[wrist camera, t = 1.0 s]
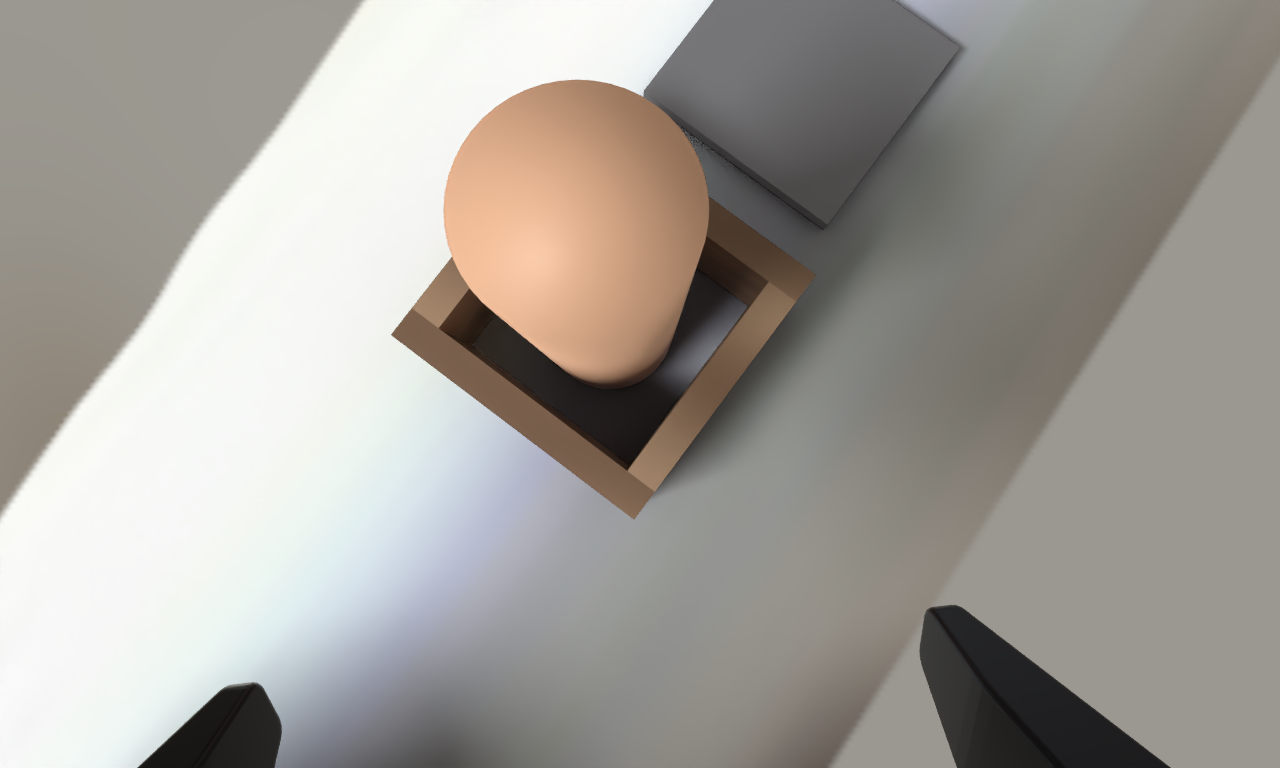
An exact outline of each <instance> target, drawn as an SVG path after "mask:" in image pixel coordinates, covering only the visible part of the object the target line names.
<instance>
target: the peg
mask: <svg viewBox="0 0 1280 768" xmlns="http://www.w3.org/2000/svg"><path fill="white" fill-rule="evenodd" d="M708 221H709V198H708V189H707V184H706V180H705V175H704V172H703V169H702V166H701V163H700V161H699V158H698V156H697V154H696V152H695V150H694V148H693V146H692V145H691V143H690V141H689V140H688V138H687V137H686V135H685V134H684V133H683V131H682V130H681V128H680V127H679V126H678V125H677V124H676V123H675V122H674V121H673V120H672V119H671V118H670V117H669V116H668V115H667V114H666V113H665V112H664V111H662V110H661V109H660V108H659V107H658V106H656V105H655V104H653V103H652V102H650V101H649V100H647V99H645V98H644V97H642V96H640V95H638V94H636V93H634V92H632V91H630V90H627V89H625V88H622V87H618V86H615V85H612V84H608V83H603V82H597V81H589V80H566V81H557V82H552V83H547V84H542V85H539V86H536V87H533V88H530V89H527V90H525V91H523V92H521V93H518V94H516V95H514V96H512V97H510V98H509V99H507V100H506V101H504V102H503V103H501V104H500V105H498V106H497V107H495V108H494V109H493V110H492V111H491V112H489V113H488V114H487V115H486V116H485V117H484V118H483V119H482V120H481V121H480V122H479V123H478V124H477V125H476V126H475V127H474V129H473V130H472V131H471V132H470V134H469V135H468V137H467V138H466V140H465V141H464V142H463V144H462V146H461V148H460V149H459V151H458V153H457V155H456V157H455V159H454V162H453V165H452V167H451V170H450V173H449V176H448V180H447V185H446V190H445V198H444V225H445V231H446V237H447V242H448V245H449V248H450V251H451V254H452V257H453V260H454V262H455V264H456V266H457V268H458V270H459V272H460V274H461V276H462V277H463V279H464V280H465V282H466V283H467V285H468V286H469V288H470V289H471V290H472V291H473V293H474V294H475V295H476V296H477V297H478V298H479V299H480V300H481V302H482V303H484V304H485V305H486V306H487V307H488V308H489V309H491V310H492V311H493V312H494V313H495V314H496V315H498V316H499V317H500V318H501V319H502V320H504V321H505V322H506V323H507V324H509V325H510V326H511V327H512V328H513V329H515V330H516V331H517V332H518V333H519V334H521V335H522V336H523V337H524V338H526V339H527V340H528V341H529V342H530V343H532V344H533V345H534V346H535V347H536V348H538V349H539V350H540V351H541V352H543V353H544V354H545V355H546V356H547V357H549V358H550V359H551V360H552V361H553V362H555V363H556V364H557V365H558V366H560V367H561V368H562V369H563V370H564V371H566V372H567V373H568V374H569V375H571V376H572V377H573V378H575V379H576V380H578V381H580V382H582V383H584V384H586V385H589V386H592V387H596V388H602V389H618V388H623V387H628V386H630V385H633V384H636V383H638V382H640V381H642V380H643V379H645V378H646V377H648V376H649V375H650V374H651V373H653V372H654V371H655V370H656V369H657V368H658V366H659V365H660V364H661V363H662V361H663V360H664V358H665V357H666V355H667V352H668V350H669V348H670V345H671V342H672V339H673V336H674V333H675V330H676V327H677V324H678V321H679V318H680V315H681V312H682V309H683V306H684V303H685V300H686V297H687V294H688V291H689V288H690V285H691V282H692V279H693V276H694V273H695V270H696V267H697V264H698V261H699V258H700V255H701V252H702V249H703V246H704V243H705V239H706V234H707V229H708Z"/></svg>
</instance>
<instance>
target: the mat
mask: <svg viewBox="0 0 1280 768" xmlns="http://www.w3.org/2000/svg"><path fill="white" fill-rule="evenodd" d="M959 48H960V47H958V46H957V45H956V44H954V43H953V42H951V41H950V40H949V39H947V38H946V37H944V36H943V35H941V34H940V33H939V32H937V31H936V30H934V29H933V28H932V27H930V26H929V25H927V24H926V23H924V22H923V21H922V20H920V19H919V18H917V17H916V16H915V15H913V14H912V13H910V12H909V11H907V10H906V9H905V8H903V7H902V6H900V5H899V4H898V3H896V2H895V1H893V0H714V1H713V2H712V4H711V5H710V6H709V7H708V9H707V10H706V11H705V13H704V14H703V15H702V17H701V18H700V19H699V20H698V22H697V23H696V24H695V26H694V27H693V28H692V29H691V31H690V32H689V33H688V35H687V36H686V37H685V38H684V40H683V41H682V42H681V44H680V45H679V46H678V47H677V49H676V50H675V51H674V53H673V54H672V55H671V57H670V58H669V59H668V60H667V62H666V63H665V64H664V66H663V67H662V68H661V69H660V71H659V72H658V73H657V75H656V76H655V77H654V78H653V80H652V81H651V82H650V84H649V85H648V86H647V88H646V89H645V90H644V98H645V99H647V100H649V101H650V102H652V103H653V104H655V105H656V106H658V107H659V108H660V109H661V110H662V111H664V112H665V113H666V114H667V115H668V116H669V117H670V118H671V119H672V120H673V121H674V122H676V123H677V124H678V125H680V126H681V127H683V128H684V129H685V130H687V131H688V132H689V133H691V134H692V135H694V136H695V137H696V138H698V139H699V140H700V141H702V142H703V143H705V144H706V145H707V146H709V147H710V148H711V149H713V150H714V151H716V152H717V153H718V154H720V155H721V156H722V157H724V158H725V159H727V160H728V161H729V162H731V163H732V164H733V165H735V166H736V167H738V168H739V169H740V170H742V171H743V172H744V173H746V174H747V175H749V176H750V177H751V178H753V179H754V180H756V181H757V182H758V183H760V184H761V185H762V186H764V187H765V188H767V189H768V190H769V191H771V192H772V193H773V194H775V195H776V196H778V197H779V198H780V199H782V200H783V201H784V202H786V203H787V204H789V205H790V206H791V207H793V208H794V209H795V210H797V211H798V212H800V213H801V214H802V215H804V216H805V217H806V218H808V219H809V220H811V221H812V222H813V223H815V224H816V225H817V226H819V227H820V228H822V229H824V228H825V227H826V226H827V225H828V223H829V222H830V221H831V219H832V218H833V217H834V215H835V214H836V213H837V211H838V210H839V209H840V207H841V206H842V204H843V203H844V202H845V200H846V199H847V198H848V196H849V195H850V194H851V192H852V191H853V190H854V188H855V187H856V186H857V184H858V183H859V182H860V180H861V179H862V178H863V176H864V175H865V174H866V172H867V171H868V170H869V168H870V167H871V166H872V164H873V163H874V162H875V160H876V159H877V158H878V156H879V155H880V154H881V152H882V151H883V150H884V148H885V147H886V146H887V144H888V143H889V141H890V140H891V139H892V137H893V136H894V135H895V133H896V132H897V131H898V129H899V128H900V127H901V125H902V124H903V123H904V121H905V120H906V119H907V117H908V116H909V115H910V113H911V112H912V111H913V109H914V108H915V107H916V105H917V104H918V103H919V101H920V100H921V99H922V97H923V96H924V95H925V93H926V92H927V91H928V89H929V88H930V87H931V85H932V84H933V83H934V81H935V80H936V78H937V77H938V76H939V74H940V73H941V72H942V70H943V69H944V68H945V66H946V65H947V64H948V62H949V61H950V60H951V58H952V57H953V56H954V54H955V53H956V52H957V50H958V49H959Z"/></svg>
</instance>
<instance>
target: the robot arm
mask: <svg viewBox="0 0 1280 768" xmlns="http://www.w3.org/2000/svg"><path fill="white" fill-rule="evenodd" d="M920 660H921V664H922V667H923V670H924V673H925V676H926V679H927V682H928V685H929V688H930V691H931V694H932V697H933V700H934V702H935V705H936V708H937V711H938V714H939V717H940V720H941V723H942V726H943V728H944V731H945V734H946V737H947V740H948V743H949V746H950V749H951V752H952V755H953V758H954V760H955V763H956V766H957V768H1170V767H1169V766H1168V765H1166V764H1165V763H1164V762H1163V761H1161V760H1160V759H1159V758H1157V757H1156V756H1155V755H1153V754H1152V753H1151V752H1149V751H1148V750H1147V749H1146V748H1144V747H1143V746H1142V745H1140V744H1139V743H1138V742H1136V741H1135V740H1134V739H1133V738H1131V737H1130V736H1129V735H1127V734H1126V733H1125V732H1123V731H1122V730H1121V729H1119V728H1118V727H1117V726H1116V725H1114V724H1113V723H1112V722H1110V721H1109V720H1108V719H1106V718H1105V717H1104V716H1103V715H1101V714H1100V713H1099V712H1097V711H1096V710H1095V709H1094V708H1092V707H1091V706H1090V705H1088V704H1087V703H1086V702H1084V701H1083V700H1082V699H1080V698H1079V697H1078V696H1077V695H1075V694H1074V693H1073V692H1071V691H1070V690H1069V689H1067V688H1066V687H1065V686H1064V685H1062V684H1061V683H1060V682H1058V681H1057V680H1056V679H1054V678H1053V677H1052V676H1051V675H1049V674H1048V673H1046V672H1045V671H1044V670H1043V669H1041V668H1040V667H1039V666H1038V665H1036V664H1035V663H1034V662H1032V661H1031V660H1030V659H1028V658H1027V657H1026V656H1025V655H1023V654H1022V653H1021V652H1019V651H1018V650H1017V649H1015V648H1014V647H1013V646H1012V645H1010V644H1009V643H1008V642H1006V641H1005V640H1004V639H1002V638H1001V637H1000V636H998V635H997V634H996V633H995V632H993V631H992V630H991V629H989V628H988V627H987V626H985V625H984V624H983V623H982V622H980V621H979V620H977V619H976V618H975V617H973V616H972V615H971V614H970V613H969V612H967V611H966V610H965V609H963V608H962V607H959V606H957V605H948V606H938V607H931V608H929V609H927V611H926V612H925V616H924V622H923V629H922V636H921V642H920ZM281 733H282V728H281V722H280V719H279V716H278V714H277V713H276V711H275V709H274V707H273V705H272V703H271V701H270V699H269V698H268V696H267V694H266V692H265V690H264V688H263V687H262V686H261V685H260V684H258V683H254V682H252V683H243V684H234V685H229V686H227V687H225V688H223V689H222V690H220V691H219V692H218V693H217V694H216V695H215V696H214V697H213V698H211V699H210V700H209V701H208V702H207V703H206V704H205V705H204V706H203V707H202V708H201V709H200V710H199V711H198V712H196V713H195V714H194V715H193V716H192V717H191V718H190V719H189V720H188V721H187V722H186V723H185V724H184V725H183V726H182V727H180V728H179V729H178V730H177V731H176V732H175V733H174V734H173V735H172V736H171V737H170V738H169V739H168V740H167V741H165V742H164V743H163V744H162V745H161V746H160V747H159V748H158V749H157V750H156V751H155V752H154V753H153V754H152V755H150V756H149V757H148V758H147V759H146V760H145V761H144V762H143V763H142V764H141V765H140V766H139V767H138V768H274V767H275V762H276V758H277V754H278V749H279V745H280V740H281Z"/></svg>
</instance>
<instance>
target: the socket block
mask: <svg viewBox="0 0 1280 768" xmlns="http://www.w3.org/2000/svg"><path fill="white" fill-rule="evenodd" d="M708 198H709V221H708V229H707V234H706V239H705V243H704V246H703V249H702V252H701V255H700V258H699V261H698V264H697V267H696V268H698V269H699V270H700V271H702V272H703V273H704V274H706V275H707V276H709V277H710V278H711V279H713V280H714V281H715V282H717V283H718V284H719V285H721V286H722V287H723V288H725V289H726V290H728V291H729V292H730V293H732V294H733V295H734V296H736V297H737V298H738V299H740V300H741V301H742V302H744V303H745V304H747V305H748V307H747V309H746V310H745V311H744V313H743V314H742V315H741V317H740V318H739V319H738V321H737V322H736V323H735V325H734V326H733V327H732V329H731V330H730V331H729V333H728V334H727V335H726V337H725V338H724V339H723V341H722V342H721V343H720V345H719V346H718V347H717V349H716V350H715V351H714V353H713V354H712V355H711V357H710V358H709V359H708V361H707V362H706V363H705V365H704V366H703V367H702V369H701V370H700V371H699V373H698V374H697V375H696V377H695V378H694V379H693V381H692V382H691V383H690V385H689V386H688V387H687V389H686V390H685V391H684V393H683V394H682V395H681V397H680V398H679V399H678V401H677V402H676V403H675V405H674V406H673V407H672V409H671V410H670V411H669V413H668V414H667V415H666V417H665V418H664V420H663V421H662V422H661V424H660V425H659V426H658V428H657V429H656V430H655V432H654V433H653V434H652V436H651V437H650V438H649V440H648V441H647V442H646V444H645V445H644V446H643V448H642V449H641V450H640V452H639V453H638V454H637V456H636V457H635V458H634V460H633V461H632V462H631V464H630V465H629V464H628V463H626V462H625V461H624V460H622V459H621V458H620V457H618V456H617V455H616V454H614V453H613V452H612V451H610V450H609V449H608V448H607V447H605V446H604V445H603V444H601V443H600V442H599V441H597V440H596V439H595V438H593V437H592V436H591V435H589V434H588V433H587V432H585V431H584V430H583V429H581V428H580V427H579V426H577V425H576V424H575V423H573V422H572V421H571V420H569V419H568V418H567V417H565V416H564V415H563V414H562V413H560V412H559V411H558V410H556V409H555V408H554V407H552V406H551V405H550V404H548V403H547V402H546V401H544V400H543V399H542V398H540V397H539V396H538V395H536V394H535V393H534V392H532V391H531V390H530V389H528V388H527V387H526V386H524V385H523V384H522V383H521V382H519V381H518V380H517V379H515V378H514V377H513V376H511V375H510V374H509V373H507V372H506V371H505V370H503V369H502V368H501V367H499V366H498V365H497V364H495V363H494V362H493V361H491V360H490V359H489V358H487V357H486V356H485V355H483V354H482V353H481V352H479V351H478V350H477V349H476V348H474V347H473V346H472V345H471V344H472V343H473V342H474V341H475V339H476V338H477V337H478V335H479V334H480V333H481V332H482V330H483V329H484V328H485V326H486V325H487V324H488V322H489V321H490V320H491V319H492V317H493V316H494V315H495V313H494V312H493V311H492V310H491V309H489V308H488V307H487V306H486V305H485V304H484V303H482V302H481V300H480V299H479V298H478V297H477V296H476V295H475V294H474V293H473V291H472V290H471V289H470V288H469V286H468V285H467V283H466V282H465V280H464V279H463V277H462V276H461V274H460V272H459V270H458V268H457V266H456V264H455V262H454V260H453V257H451V259H450V260H449V261H448V263H447V264H446V265H445V266H444V268H443V269H442V270H441V272H440V273H439V274H438V275H437V277H436V278H435V279H434V281H433V282H432V283H431V284H430V286H429V287H428V288H427V290H426V291H425V292H424V293H423V295H422V296H421V297H420V298H419V300H418V301H417V302H416V304H415V305H414V306H413V307H412V309H411V310H410V311H409V313H408V314H407V315H406V316H405V318H404V319H403V320H402V322H401V323H400V324H399V325H398V327H397V328H396V329H395V330H394V332H393V333H392V334H391V335H392V336H393V337H394V338H396V339H397V340H398V341H400V342H401V343H402V344H404V345H405V346H406V347H408V348H409V349H410V350H412V351H413V352H414V353H416V354H417V355H418V356H419V357H421V358H422V359H423V360H425V361H426V362H427V363H429V364H430V365H431V366H433V367H434V368H435V369H437V370H438V371H439V372H441V373H442V374H443V375H444V376H446V377H447V378H448V379H450V380H451V381H452V382H454V383H455V384H456V385H458V386H459V387H460V388H462V389H463V390H464V391H466V392H467V393H468V394H470V395H471V396H472V397H473V398H475V399H476V400H477V401H479V402H480V403H481V404H483V405H484V406H485V407H487V408H488V409H489V410H491V411H492V412H493V413H495V414H496V415H497V416H498V417H500V418H501V419H502V420H504V421H505V422H506V423H508V424H509V425H510V426H512V427H513V428H514V429H516V430H517V431H518V432H520V433H521V434H522V435H523V436H525V437H526V438H527V439H529V440H530V441H531V442H533V443H534V444H535V445H537V446H538V447H539V448H541V449H542V450H543V451H545V452H546V453H547V454H548V455H550V456H551V457H552V458H554V459H555V460H556V461H558V462H559V463H560V464H562V465H563V466H564V467H566V468H567V469H568V470H570V471H571V472H572V473H573V474H575V475H576V476H577V477H579V478H580V479H581V480H583V481H584V482H585V483H587V484H588V485H589V486H591V487H592V488H593V489H595V490H596V491H597V492H599V493H600V494H601V495H602V496H604V497H605V498H606V499H608V500H609V501H610V502H612V503H613V504H614V505H616V506H617V507H618V508H620V509H621V510H622V511H624V512H625V513H626V514H627V515H629V516H630V517H631V518H633V519H635V518H636V516H637V515H638V514H639V512H640V511H641V510H642V508H643V507H644V506H645V504H646V503H647V502H648V500H649V499H650V498H651V496H652V495H653V493H654V492H655V491H656V489H657V488H658V487H659V485H660V484H661V483H662V481H663V480H664V479H665V477H666V476H667V475H668V473H669V472H670V471H671V469H672V468H673V467H674V465H675V464H676V463H677V461H678V460H679V459H680V457H681V456H682V454H683V453H684V452H685V450H686V449H687V448H688V446H689V445H690V444H691V442H692V441H693V440H694V438H695V437H696V436H697V434H698V433H699V432H700V430H701V429H702V428H703V426H704V425H705V424H706V422H707V421H708V420H709V418H710V417H711V415H712V414H713V413H714V411H715V410H716V409H717V407H718V406H719V405H720V403H721V402H722V401H723V399H724V398H725V397H726V395H727V394H728V393H729V391H730V390H731V389H732V387H733V386H734V385H735V383H736V382H737V380H738V379H739V378H740V376H741V375H742V374H743V372H744V371H745V370H746V368H747V367H748V366H749V364H750V363H751V362H752V360H753V359H754V358H755V356H756V355H757V354H758V352H759V351H760V350H761V348H762V347H763V346H764V344H765V343H766V341H767V340H768V339H769V337H770V336H771V335H772V333H773V332H774V331H775V329H776V328H777V327H778V325H779V324H780V323H781V321H782V320H783V319H784V317H785V316H786V315H787V313H788V312H789V311H790V309H791V308H792V307H793V305H794V304H795V302H796V301H797V300H798V298H799V297H800V296H801V294H802V293H803V292H804V290H805V289H806V288H807V286H808V285H809V284H810V282H811V281H812V280H813V278H814V277H815V276H816V275H815V274H814V273H813V272H811V271H810V270H808V269H807V268H806V267H804V266H803V265H802V264H800V263H799V262H797V261H796V260H795V259H793V258H792V257H791V256H789V255H788V254H787V253H785V252H784V251H782V250H781V249H780V248H778V247H777V246H776V245H774V244H773V243H771V242H770V241H769V240H767V239H766V238H765V237H763V236H762V235H761V234H759V233H758V232H756V231H755V230H754V229H752V228H751V227H750V226H748V225H747V224H745V223H744V222H743V221H741V220H740V219H739V218H737V217H736V216H735V215H733V214H732V213H730V212H729V211H728V210H726V209H725V208H724V207H722V206H721V205H719V204H718V203H717V202H715V201H714V200H713V199H711V198H710V197H709V196H708Z"/></svg>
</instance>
